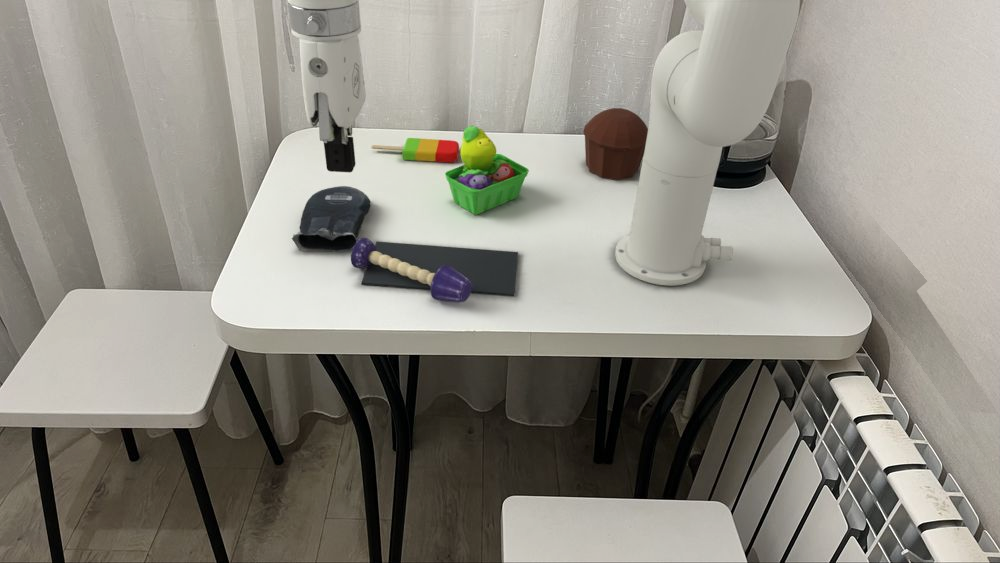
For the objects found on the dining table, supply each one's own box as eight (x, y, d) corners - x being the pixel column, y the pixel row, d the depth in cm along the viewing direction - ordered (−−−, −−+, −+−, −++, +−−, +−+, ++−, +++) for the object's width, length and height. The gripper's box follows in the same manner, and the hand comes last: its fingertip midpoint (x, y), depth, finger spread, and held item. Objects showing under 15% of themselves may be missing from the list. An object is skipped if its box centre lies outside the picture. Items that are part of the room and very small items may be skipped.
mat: (517, 254, 105) (517, 251, 104) (514, 296, 97) (514, 294, 96) (376, 243, 105) (376, 241, 105) (361, 284, 97) (361, 282, 97)
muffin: (583, 149, 134) (590, 96, 128) (645, 157, 132) (655, 104, 126) (575, 179, 124) (582, 123, 118) (642, 188, 123) (652, 132, 117)
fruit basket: (474, 222, 111) (476, 153, 105) (437, 198, 116) (437, 131, 110) (529, 199, 118) (534, 133, 111) (491, 178, 123) (495, 113, 116)
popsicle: (457, 163, 126) (457, 153, 125) (368, 158, 126) (368, 148, 125) (459, 149, 131) (459, 140, 130) (374, 144, 131) (373, 134, 130)
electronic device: (365, 260, 104) (374, 195, 115) (356, 230, 100) (367, 165, 111) (299, 266, 104) (315, 200, 115) (288, 235, 100) (305, 171, 111)
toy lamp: (345, 271, 98) (455, 313, 92) (350, 237, 96) (462, 278, 90) (367, 264, 102) (473, 304, 96) (372, 231, 100) (480, 270, 94)
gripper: (343, 41, 75) (358, 200, 86) (373, 0, 87) (383, 144, 98) (269, 37, 75) (294, 197, 86) (309, -3, 87) (326, 141, 98)
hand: (341, 168), depth 92 cm, fingers closed
